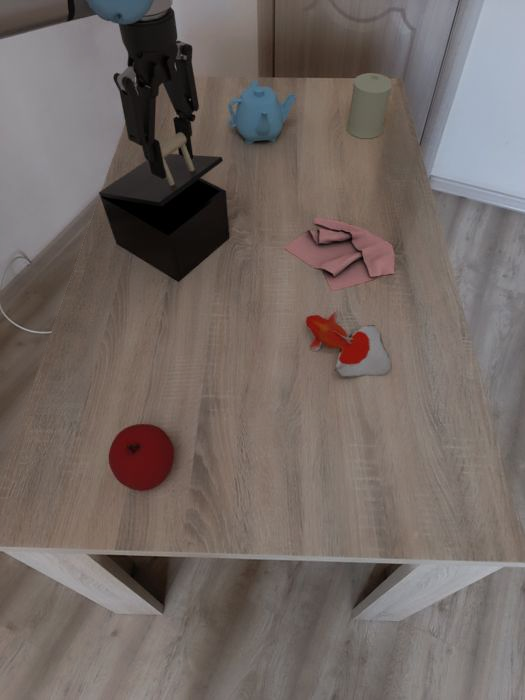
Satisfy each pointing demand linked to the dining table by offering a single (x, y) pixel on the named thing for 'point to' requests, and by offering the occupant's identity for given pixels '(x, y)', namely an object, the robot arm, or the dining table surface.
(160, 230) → the box
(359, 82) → the can
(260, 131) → the teapot
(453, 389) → the dining table surface
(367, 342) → the fish
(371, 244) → the cloth
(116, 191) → the lid
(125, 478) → the apple
